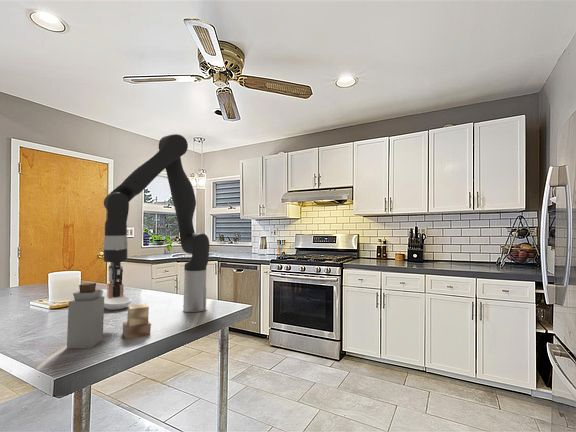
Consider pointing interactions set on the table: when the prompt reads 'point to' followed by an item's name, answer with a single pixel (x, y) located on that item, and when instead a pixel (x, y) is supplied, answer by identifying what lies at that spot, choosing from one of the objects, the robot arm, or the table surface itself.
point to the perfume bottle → (85, 317)
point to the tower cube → (137, 314)
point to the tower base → (136, 330)
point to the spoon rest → (115, 301)
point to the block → (110, 291)
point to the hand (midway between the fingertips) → (115, 295)
